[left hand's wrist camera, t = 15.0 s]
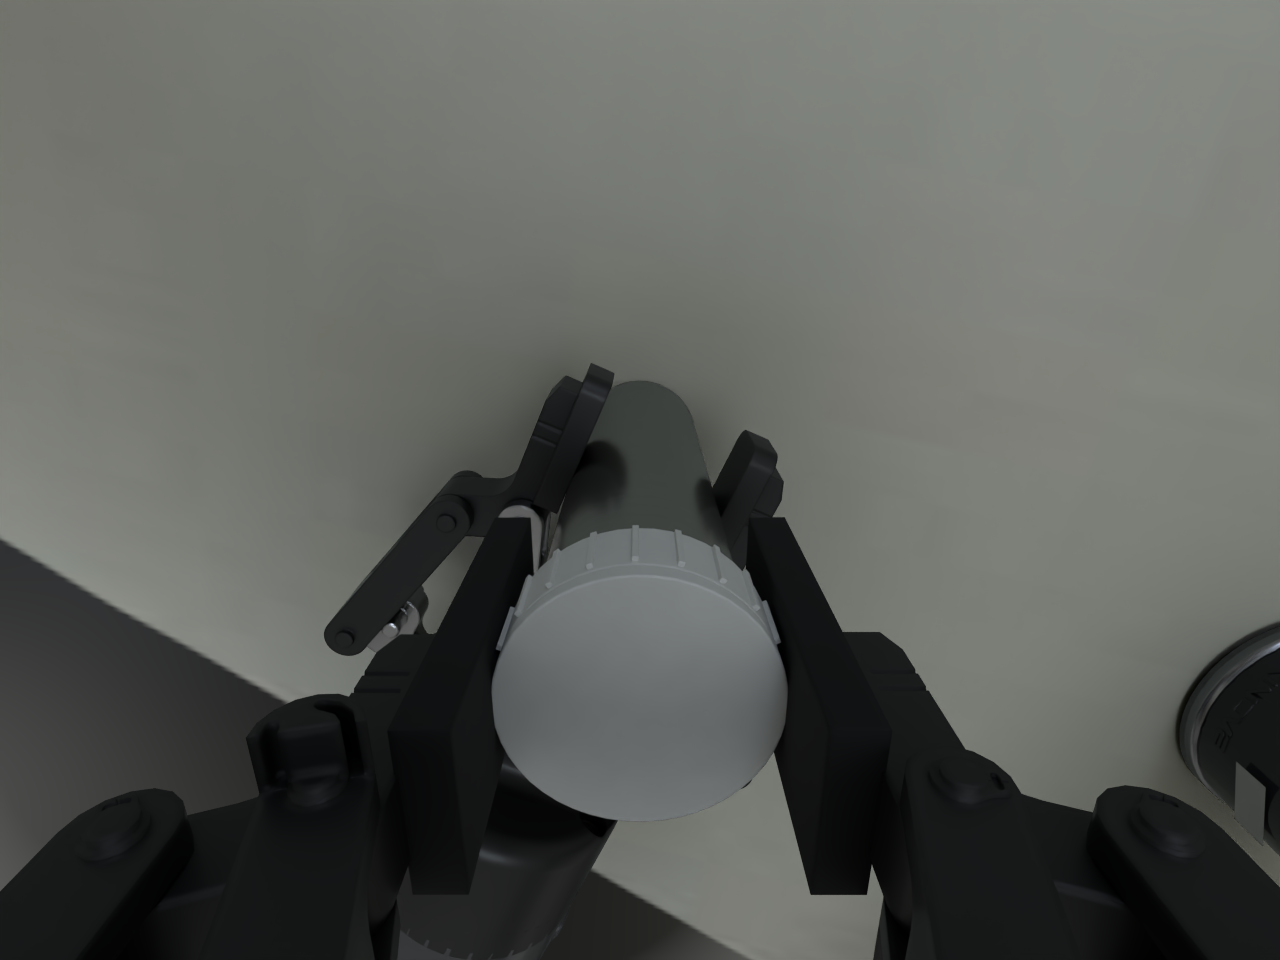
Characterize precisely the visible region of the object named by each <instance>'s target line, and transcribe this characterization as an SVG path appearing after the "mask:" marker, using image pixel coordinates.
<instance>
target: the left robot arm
mask: <svg viewBox="0 0 1280 960" xmlns="http://www.w3.org/2000/svg"><path fill="white" fill-rule="evenodd" d="M746 570H747V571H748V572H749V574H750V577H751V580H752V583H753V586H754V587H755V589H756V591H757V593H758V595H759V596H760V598H761V600H762V601H765V600H766V601H767V603H768V605H769V608H770V611H771V614H772V617H773V620H774V623H775V626H776V628H777V631H778V634H779V637H780V640H781V643H779V644H777V647H778V650H779V653H780V656H781V659H782V662H783V665H784V668H785V672H786V677H787V683H788V697H787V709H786V720H785V726H784V729H783V732H782V736H781V738H780V740H779V742H778V744H777V746H776V748H775V751H774V754H775V758H776V762H777V765H778V769H779V773H780V777H781V781H782V785H783V789H784V793H785V797H786V800H787V804H788V808H789V812H790V816H791V820H792V824H793V828H794V832H795V835H796V839H797V843H798V847H799V851H800V855H801V859H802V863H803V866H804V870H805V874H806V878H807V882H808V886H809V890H810V894H811V895H867V891H868V884H869V878H870V871H871V865H872V866H873V868H874V871H875V874H876V877H877V879H878V882H879V885H880V887H881V890H882V893H883V896H884V898H883V904H882V910H881V915H880V921H879V927H878V933H877V939H876V945H875V951H874V959H873V960H1280V887H1279V886H1278V885H1277V884H1276V883H1275V882H1274V881H1273V880H1272V879H1271V878H1270V877H1269V876H1268V875H1267V874H1266V873H1265V872H1264V871H1263V870H1262V869H1261V868H1260V867H1259V866H1258V865H1257V864H1256V863H1255V862H1254V861H1253V860H1252V859H1251V858H1250V857H1249V856H1248V855H1247V854H1246V853H1245V852H1244V850H1243V849H1242V848H1241V847H1240V846H1239V845H1238V844H1237V843H1236V842H1235V841H1234V840H1233V839H1232V838H1231V837H1230V836H1229V835H1228V834H1227V833H1226V832H1225V831H1224V830H1223V829H1222V828H1220V827H1219V826H1218V825H1217V824H1215V823H1214V822H1213V821H1212V820H1211V819H1209V818H1208V817H1207V816H1206V815H1204V814H1203V813H1202V812H1200V811H1199V810H1197V809H1195V808H1193V807H1191V806H1190V805H1188V804H1186V803H1184V802H1182V801H1181V800H1179V799H1177V798H1175V797H1172V796H1169V795H1166V794H1163V793H1161V792H1158V791H1155V790H1152V789H1149V788H1142V787H1134V786H1126V785H1125V786H1119V787H1114V788H1108V789H1107V790H1105V791H1104V792H1103V793H1102V794H1101V795H1100V796H1099V797H1098V798H1097V801H1096V804H1095V808H1094V811H1093V812H1088V811H1084V810H1080V809H1076V808H1072V807H1067V806H1063V805H1059V804H1055V803H1050V802H1046V801H1042V800H1039V799H1036V798H1033V797H1029V796H1026V795H1023V794H1021V792H1020V791H1019V789H1018V787H1017V786H1016V784H1015V783H1014V781H1013V780H1012V778H1011V776H1009V775H1008V774H1007V773H1006V772H1005V771H1004V770H1002V769H1001V768H1000V767H999V766H998V765H996V764H995V763H994V762H992V761H990V760H989V759H987V758H985V757H983V756H981V755H979V754H977V753H975V752H973V751H969V750H966V749H965V748H964V746H963V745H962V743H961V742H960V740H959V738H958V737H957V735H956V734H955V732H954V730H953V729H952V727H951V726H950V724H949V722H948V721H947V719H946V718H945V716H944V714H943V713H942V711H941V710H940V708H939V707H938V705H937V703H936V702H935V700H934V699H933V697H932V695H931V694H930V692H929V691H926V686H925V684H924V683H923V681H922V680H921V678H920V676H919V675H918V674H916V673H915V668H914V667H913V665H912V664H911V662H910V660H909V659H908V657H907V656H906V654H905V652H904V651H903V649H901V648H900V647H899V646H897V645H896V644H895V643H893V642H892V641H891V640H889V639H888V638H887V637H885V636H884V635H883V634H882V633H880V632H842V630H841V628H840V626H839V624H838V622H837V620H836V618H835V616H834V614H833V612H832V610H831V608H830V606H829V604H828V602H827V600H826V598H825V596H824V594H823V592H822V590H821V588H820V586H819V584H818V582H817V581H816V579H815V577H814V575H813V573H812V571H811V569H810V567H809V565H808V563H807V561H806V559H805V557H804V555H803V553H802V551H801V549H800V547H799V545H798V543H797V541H796V539H795V537H794V535H793V533H792V531H791V529H790V527H789V525H788V523H787V521H786V519H785V517H749V524H748V540H747V557H746ZM528 575H531V576H532V577H533V575H534V564H533V547H532V530H531V517H495V518H494V520H493V522H492V524H491V526H490V528H489V530H488V532H487V534H486V536H485V538H484V540H483V542H482V544H481V546H480V548H479V550H478V552H477V554H476V556H475V558H474V560H473V562H472V564H471V566H470V568H469V570H468V572H467V574H466V576H465V578H464V580H463V582H462V584H461V586H460V588H459V590H458V592H457V594H456V595H455V597H454V599H453V601H452V603H451V605H450V607H449V609H448V611H447V613H446V615H445V617H444V619H443V621H442V623H441V625H440V627H439V629H438V631H437V633H436V634H400V635H398V636H397V637H396V638H395V639H393V640H392V641H391V642H389V643H388V644H387V645H385V646H384V647H383V648H381V649H380V650H379V651H377V653H376V654H375V656H374V658H373V659H372V661H371V662H370V664H369V666H368V667H367V669H366V670H365V675H364V676H362V677H361V678H360V680H359V682H358V683H357V685H356V686H355V688H354V693H351V694H350V696H349V697H348V696H344V695H341V694H318V695H314V696H309V697H305V698H301V699H297V700H294V701H292V702H290V703H288V704H286V705H283V706H281V707H279V708H277V709H275V710H273V711H272V712H271V713H269V714H268V715H267V716H265V717H264V718H263V719H261V720H260V721H259V722H257V723H256V725H255V726H254V727H253V729H252V730H251V732H250V733H249V734H248V736H247V737H246V741H247V745H248V749H249V753H250V757H251V761H252V765H253V769H254V773H255V777H256V781H257V785H258V789H259V796H258V797H256V798H253V799H250V800H247V801H243V802H240V803H237V804H233V805H229V806H224V807H220V808H216V809H212V810H208V811H204V812H199V813H195V814H191V815H187V813H186V809H185V806H184V803H183V800H181V799H180V798H179V797H178V796H177V795H176V794H175V793H174V792H172V791H167V790H161V789H156V788H153V789H146V790H139V791H131V792H128V793H125V794H123V795H120V796H117V797H114V798H111V799H108V800H105V801H103V802H102V803H100V804H98V805H96V806H95V807H93V808H91V809H89V810H87V811H85V812H84V813H82V814H80V815H79V816H77V817H76V818H75V819H74V820H72V821H71V822H70V823H69V824H68V825H66V826H65V827H64V828H63V829H62V830H60V831H59V832H58V833H57V834H56V835H55V836H54V837H53V838H52V839H51V840H50V841H49V842H48V843H47V844H46V845H45V846H44V847H43V848H42V849H41V850H40V851H39V852H38V853H37V854H36V855H35V856H34V857H33V858H32V859H31V860H30V861H29V863H28V864H27V865H26V866H25V867H24V868H23V869H22V870H21V871H20V872H19V873H18V874H17V875H16V876H15V877H14V878H13V879H12V880H11V881H10V882H9V883H8V884H7V885H6V886H5V887H4V888H3V889H2V890H1V891H0V960H397V958H398V947H399V937H400V927H401V924H400V917H399V910H398V904H397V895H398V892H399V890H400V887H401V884H402V882H403V879H404V876H405V873H406V871H407V868H409V874H410V880H411V887H412V893H413V895H469V892H470V888H471V884H472V880H473V877H474V873H475V869H476V865H477V861H478V857H479V853H480V849H481V845H482V842H483V838H484V834H485V830H486V826H487V822H488V818H489V814H490V811H491V807H492V803H493V799H494V795H495V791H496V787H497V783H498V780H499V776H500V772H501V768H502V764H503V760H504V756H505V752H506V751H505V749H504V747H503V746H502V744H501V742H500V739H499V737H498V734H497V731H496V728H495V724H494V714H493V703H492V678H493V674H494V670H495V667H496V663H497V660H498V657H499V654H500V651H499V650H496V647H497V644H498V641H499V638H500V635H501V632H502V629H503V626H504V624H505V621H506V618H507V615H508V612H509V609H510V607H514V608H515V606H516V604H517V602H518V599H519V597H520V594H521V591H522V588H523V585H524V582H525V579H526V577H527V576H528Z"/></svg>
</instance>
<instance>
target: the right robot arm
mask: <svg viewBox="0 0 1280 960" xmlns="http://www.w3.org/2000/svg"><path fill="white" fill-rule="evenodd" d="M613 378H614V373H613V372H611V371H608V370H606V369H604V368H602V367H599V366H597V365H595V364H592V363H591V364H590V367H589V369H588V371H587V374H586V376H585V379H584V381H583V383H582V382H580V381H578V380H575V379H573V378H571V377H568V376H565V377H564V378H563V379H562V380H561V381H560V382H559V383H558V384H557V385H556V386H555V387H554V388H553V389H552V390H551V392H550V394H549V396H548V398H547V399H546V401H545V404H544V406H543V409H542V411H541V414H540V416H539V419H538V421H537V424H536V426H535V429H534V431H533V434H532V436H531V439H530V441H529V444H528V446H527V449H526V451H525V454H524V456H523V459H522V461H521V464H520V466H519V468H518V470H517V471H516V472H515V473H514V474H513V475H511V476H509V477H505V478H483V477H482V476H481V475H479V474H478V473H476V472H473V471H461V472H458V473H456V474H455V475H454V476H453V477H452V478H451V479H450V480H449V481H448V482H447V484H446V485H445V486H444V487H443V488H442V489H441V491H440V492H439V493H438V494H437V495H436V496H435V498H434V499H433V500H432V501H431V502H430V503H429V505H428V506H427V507H426V508H425V509H424V510H423V512H422V513H421V514H420V515H419V516H418V517H417V519H416V520H415V521H414V522H413V523H412V524H411V525H410V527H409V528H408V529H407V530H406V531H405V532H404V534H403V535H402V536H401V537H400V538H399V539H398V541H397V542H396V543H395V544H394V545H393V546H392V548H391V549H390V550H389V551H388V552H387V553H386V555H385V556H384V557H383V558H382V559H381V560H380V562H379V563H378V564H377V565H376V566H375V567H374V569H373V570H372V571H371V572H370V573H369V574H368V576H367V577H366V578H365V579H364V580H363V581H362V583H361V584H360V585H359V586H358V588H357V589H356V590H355V591H354V593H353V594H352V595H351V596H350V598H349V599H348V600H347V601H346V603H345V604H344V605H343V606H342V608H341V609H340V610H339V611H338V613H337V614H336V615H335V616H334V618H333V619H332V620H331V621H330V623H329V624H328V625H327V627H326V628H325V631H324V638H325V641H326V643H327V645H328V646H329V647H330V648H331V649H332V650H333V651H335V652H336V653H338V654H341V655H345V656H352V655H356V654H359V653H360V652H362V651H363V650H364V649H365V648H366V647H369V648H370V649H372V650H373V651H374V652H376V653H377V651H379V650H380V649H381V648H383V647H384V646H385V645H387V644H388V643H389V642H391V641H392V640H393V639H395V638H396V637H397V636H398V635H400V634H428V633H427V632H426V631H425V629H424V627H423V621H422V620H423V616H424V614H425V612H426V610H427V608H428V604H429V601H428V597H427V595H426V593H425V592H424V588H423V586H422V584H423V583H424V582H425V581H426V579H427V578H428V577H429V576H430V575H431V574H432V573H433V572H434V570H435V569H436V568H437V567H438V566H439V565H440V564H441V563H442V562H443V560H444V559H445V558H446V557H447V556H448V555H449V554H450V553H451V551H452V550H453V549H454V548H455V547H456V546H457V545H458V544H459V543H460V541H461V540H462V539H463V538H464V537H465V536H476V537H485V536H486V534H487V532H488V530H489V528H490V526H491V524H492V522H493V520H494V518H495V517H531V530H532V547H533V564H534V574H535V573H536V572H537V571H538V570H539V569H540V567H541V566H543V565H544V564H545V563H546V562H547V558H548V537H549V528H550V519H551V512H554V513H556V514H557V513H558V510H559V508H560V506H561V503H562V501H563V499H564V497H565V494H566V492H567V489H568V486H569V484H570V482H571V480H572V478H573V476H574V473H575V471H576V469H577V466H578V464H579V462H580V460H581V457H582V455H583V453H584V450H585V448H586V446H587V443H588V441H589V439H590V436H591V434H592V432H593V429H594V427H595V425H596V423H597V420H598V418H599V416H600V413H601V411H602V409H603V406H604V404H605V402H606V399H607V397H608V394H609V392H610V389H611V386H612V383H613ZM777 457H778V456H777V453H776V451H775V450H774V448H773V446H772V445H771V443H770V442H769V440H768V439H765V438H763V437H761V436H759V435H756V434H754V433H752V432H749V431H747V430H744V431H743V432H742V433H741V435H740V436H739V438H738V439H737V441H736V443H735V445H734V447H733V449H732V451H731V453H730V455H729V457H728V459H727V461H726V463H725V465H724V467H723V469H722V471H721V472H720V474H719V476H718V478H717V480H716V482H715V484H714V486H713V488H712V490H713V493H714V497H715V500H716V504H717V507H718V511H719V514H720V518H721V522H722V525H723V529H724V532H725V536H726V539H727V543H728V546H729V550H730V553H731V557H732V560H733V562H734V563H735V564H736V565H737V566H738V567H739V568H740V569H741V570H742V571H743V569H744V567H745V565H746V557H747V540H748V524H749V517H773V515H774V513H775V511H776V509H777V508H778V506H779V504H780V502H781V500H782V492H783V483H784V481H783V480H782V478H781V476H780V474H779V473H778V471H777V469H776V464H777ZM436 633H437V632H436ZM436 633H435V634H436ZM1179 741H1180V748H1181V753H1182V756H1183V758H1184V761H1185V763H1186V765H1187V766H1188V768H1189V769H1190V771H1191V772H1192V773H1193V774H1194V775H1195V776H1196V777H1197V779H1198V780H1199V781H1201V782H1202V783H1203V784H1204V785H1205V786H1206V787H1207V788H1208V789H1209V790H1210V791H1211V792H1212V793H1213V794H1214V795H1215V796H1217V797H1218V798H1219V799H1221V800H1222V801H1224V802H1225V803H1226V804H1227V805H1228V806H1229V807H1230V808H1232V809H1233V810H1234V811H1235V817H1234V818H1235V819H1236V820H1237V821H1238V822H1239V823H1240V824H1241V825H1242V826H1243V827H1244V828H1245V829H1246V830H1247V831H1248V832H1249V833H1250V834H1251V835H1252V836H1253V837H1254V838H1255V839H1256V840H1257V841H1258V842H1259V843H1260V844H1261V845H1262V846H1263V840H1264V841H1265V842H1266V843H1267V844H1268V845H1269V846H1270V847H1271V848H1272V849H1273V850H1274V851H1275V852H1276V853H1277V854H1278V855H1279V856H1280V626H1279V627H1276V628H1274V629H1271V630H1269V631H1267V632H1264V633H1262V634H1260V635H1258V636H1256V637H1254V638H1252V639H1250V640H1249V641H1247V642H1245V643H1244V644H1242V645H1240V646H1239V647H1238V648H1236V649H1235V650H1233V651H1232V652H1230V653H1229V654H1228V655H1227V656H1225V657H1224V658H1223V659H1222V660H1221V661H1219V662H1218V663H1217V664H1216V665H1215V666H1214V667H1213V668H1212V669H1211V670H1210V671H1209V672H1208V673H1207V674H1206V675H1205V677H1204V678H1203V679H1202V680H1201V682H1200V683H1199V684H1198V686H1197V687H1196V689H1195V690H1194V692H1193V693H1192V695H1191V697H1190V699H1189V701H1188V703H1187V705H1186V707H1185V710H1184V713H1183V716H1182V719H1181V724H1180V732H1179ZM751 780H752V779H751ZM751 780H750V781H749V782H748V783H747V784H746V785H745V786H744V787H746V786H747V785H748V784H749V783H750V782H751ZM744 787H743V788H744ZM741 789H742V788H741ZM617 821H618V820H613V819H606V818H602V817H598V816H594V815H590V814H587V813H584V812H581V811H578V810H575V809H573V808H571V807H569V806H566V805H564V804H562V803H560V802H558V801H556V800H555V799H553V798H552V797H550V796H548V795H547V794H545V793H544V792H542V791H541V790H540V789H538V788H537V787H536V786H535V785H533V784H532V783H531V782H530V781H529V780H528V779H527V778H526V777H525V776H524V775H523V774H522V773H521V772H520V771H519V770H518V769H517V767H516V766H515V765H514V763H513V762H512V761H511V759H510V758H509V757H508V755H507V753H506V752H505V756H504V760H503V764H502V768H501V772H500V776H499V780H498V783H497V787H496V791H495V795H494V799H493V803H492V807H491V811H490V814H489V818H488V822H487V826H486V830H485V834H484V838H483V842H482V845H481V849H480V853H479V857H478V861H477V865H476V869H475V873H474V877H473V880H472V884H471V888H470V892H469V895H413V893H412V887H411V880H410V874H409V868H407V871H406V873H405V876H404V879H403V882H402V884H401V887H400V890H399V892H398V895H397V904H398V910H399V917H400V924H401V927H400V937H399V947H398V958H397V960H540V958H541V957H542V955H543V953H544V951H545V950H546V948H547V946H548V944H549V943H550V941H552V940H553V939H554V938H555V937H557V935H558V934H559V932H560V930H561V928H562V926H563V924H564V922H565V919H566V917H567V915H568V912H569V909H570V905H571V903H572V902H573V900H574V898H575V896H576V895H577V893H578V891H579V889H580V887H581V886H582V884H583V882H584V880H585V879H586V877H587V875H588V873H589V872H590V870H591V868H592V866H593V864H594V863H595V861H596V859H597V857H598V855H599V854H600V852H601V850H602V848H603V847H604V845H605V843H606V841H607V839H608V838H609V836H610V834H611V832H612V831H613V829H614V827H615V825H616V823H617Z"/></svg>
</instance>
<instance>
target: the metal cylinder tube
mask: <svg viewBox="0 0 1280 960" xmlns="http://www.w3.org/2000/svg"><path fill="white" fill-rule="evenodd" d="M632 525H639V528H649V529H659V530H666V531H672V532H675V529H676V530H680V531H681V533H682V535H686V536H689V537H692V538H694V539H696V540H699V541H701V542H704V543H706V544H707V545H709V546H711V547H713V546H714V545H716V546H718V547H719V548H720V552H721V553H722V554H724V555H725V556H726V557H727V558H729V559H730V560H731V561H733V560H732V557H731V553H730V550H729V546H728V543H727V539H726V536H725V532H724V529H723V525H722V522H721V518H720V514H719V511H718V507H717V504H716V500H715V497H714V493H713V490H712V486H711V483H710V479H709V476H708V472H707V468H706V465H705V461H704V458H703V454H702V451H701V447H700V444H699V440H698V437H697V433H696V430H695V426H694V423H693V419H692V416H691V414H690V412H689V410H688V408H687V406H686V405H685V403H684V402H683V401H682V400H681V399H680V397H679V396H678V395H676V394H675V393H674V392H673V391H671V390H670V389H668V388H666V387H664V386H662V385H660V384H656V383H653V382H647V381H632V382H627V383H623V384H620V385H617V386H615V387H613V388H612V389H610V392H609V394H608V397H607V399H606V402H605V404H604V406H603V409H602V411H601V413H600V416H599V418H598V420H597V423H596V425H595V427H594V429H593V432H592V434H591V436H590V439H589V441H588V443H587V446H586V448H585V450H584V453H583V455H582V457H581V460H580V462H579V464H578V466H577V469H576V471H575V473H574V476H573V478H572V480H571V482H570V484H569V486H568V489H567V492H566V495H565V499H564V502H563V506H562V509H561V513H560V516H559V520H558V524H557V527H556V531H555V534H554V538H553V541H552V545H551V548H550V552H549V555H548V559H547V561H548V560H549V559H551V558H552V556H553V552H554V551H555V550H557V549H559V550H560V551H562V550H563V549H565V548H566V547H568V546H570V545H572V544H574V543H576V542H578V541H580V540H582V539H585V538H588V537H590V533H592V532H595V531H596V532H597V534H600V533H604V532H609V531H614V530H619V529H631V528H632Z"/></svg>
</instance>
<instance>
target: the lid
mask: <svg viewBox="0 0 1280 960" xmlns="http://www.w3.org/2000/svg"><path fill="white" fill-rule="evenodd" d="M779 643H781V640H780V637H779V634H778V631H777V628H776V626H775V623H774V620H773V617H772V614H771V611H770V608H769V605H768V603H767V601H766V600H765V601H762V600H761V598H760V596H759V595H758V593H757V591H756V589H755V587H754V586H753V583H752V580H751V577H750V574H749V572H748V571H747V570H746V569H745V570H744V571H742V570H741V569H740V568H739V567H738V566H737V565H736V564H735V563H734V562H733V561H731V560H730V559H729V558H727V557H726V556H725V555H724V554H722V553H721V552H720V548H719V547H718V546H716V545H714V546H713V547H711V546H709V545H707V544H706V543H704V542H701V541H699V540H696V539H694V538H692V537H689V536H686V535H682V533H681V531H680V530H676V529H675V532H672V531H666V530H659V529H649V528H639V525H632V528H631V529H619V530H614V531H609V532H604V533H600V534H597V532H596V531H595V532H592V533H590V537H588V538H585V539H582V540H580V541H578V542H576V543H574V544H572V545H570V546H568V547H566V548H565V549H563V550H562V551H560V550H559V549H557V550H555V551H554V552H553V556H552V558H551V559H549V560H548V561H547V562H546V563H545V564H544V565H543V566H541V567H540V569H539V570H538V571H537V572H536V573H535V574H534V575H533V577H532V576H531V575H528V576H527V577H526V579H525V582H524V585H523V588H522V591H521V594H520V597H519V599H518V602H517V604H516V606H515V608H514V607H510V609H509V612H508V615H507V618H506V621H505V624H504V626H503V629H502V632H501V635H500V638H499V641H498V644H497V647H496V650H499V651H500V654H499V657H498V660H497V663H496V667H495V670H494V674H493V678H492V703H493V714H494V724H495V728H496V731H497V734H498V737H499V739H500V742H501V744H502V746H503V747H504V749H505V751H506V753H507V755H508V757H509V758H510V759H511V761H512V762H513V763H514V765H515V766H516V767H517V769H518V770H519V771H520V772H521V773H522V774H523V775H524V776H525V777H526V778H527V779H528V780H529V781H530V782H531V783H532V784H533V785H535V786H536V787H537V788H538V789H540V790H541V791H542V792H544V793H545V794H547V795H548V796H550V797H552V798H553V799H555V800H556V801H558V802H560V803H562V804H564V805H566V806H569V807H571V808H573V809H575V810H578V811H581V812H584V813H587V814H590V815H594V816H598V817H602V818H606V819H613V820H620V821H637V822H646V821H660V820H667V819H672V818H678V817H682V816H686V815H689V814H693V813H696V812H699V811H701V810H704V809H706V808H709V807H711V806H713V805H715V804H717V803H719V802H721V801H723V800H725V799H726V798H728V797H730V796H731V795H733V794H734V793H735V792H737V791H738V790H740V789H741V788H743V787H744V786H745V785H746V784H747V783H748V782H749V781H750V780H751V779H753V778H754V777H755V776H756V775H757V773H758V772H759V771H760V770H761V769H762V768H763V767H764V765H765V764H766V763H767V761H768V760H769V758H770V757H771V755H772V754H773V752H774V751H775V748H776V746H777V744H778V742H779V740H780V738H781V736H782V732H783V729H784V726H785V720H786V709H787V697H788V683H787V677H786V672H785V668H784V665H783V662H782V659H781V656H780V653H779V650H778V647H777V644H779Z"/></svg>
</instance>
